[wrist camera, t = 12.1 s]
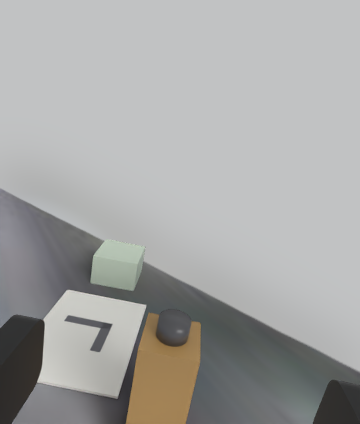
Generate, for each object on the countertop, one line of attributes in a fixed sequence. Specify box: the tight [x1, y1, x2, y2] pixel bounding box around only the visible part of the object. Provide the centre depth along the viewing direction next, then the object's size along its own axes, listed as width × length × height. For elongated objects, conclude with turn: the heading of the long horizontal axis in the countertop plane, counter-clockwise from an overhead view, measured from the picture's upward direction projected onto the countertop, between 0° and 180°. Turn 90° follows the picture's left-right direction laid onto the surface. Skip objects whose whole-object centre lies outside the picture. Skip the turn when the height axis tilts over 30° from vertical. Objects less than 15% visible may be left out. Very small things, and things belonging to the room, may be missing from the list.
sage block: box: [91, 239, 145, 291], centre depth 53 cm, size 7×7×5 cm
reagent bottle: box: [126, 309, 201, 424], centre depth 26 cm, size 5×5×12 cm
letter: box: [37, 290, 146, 399], centre depth 39 cm, size 12×16×1 cm
